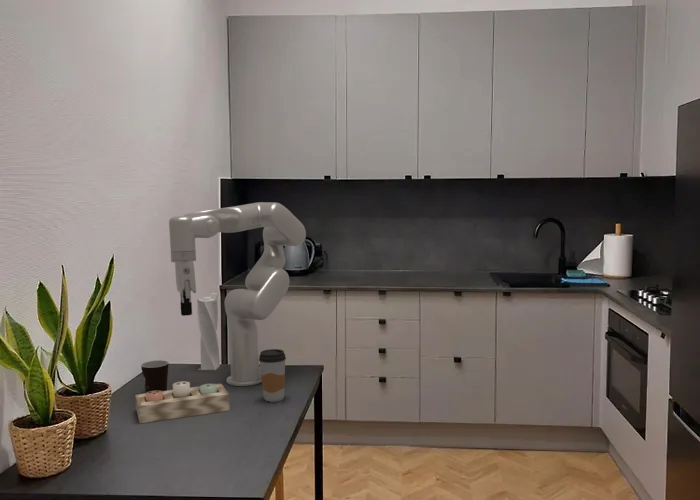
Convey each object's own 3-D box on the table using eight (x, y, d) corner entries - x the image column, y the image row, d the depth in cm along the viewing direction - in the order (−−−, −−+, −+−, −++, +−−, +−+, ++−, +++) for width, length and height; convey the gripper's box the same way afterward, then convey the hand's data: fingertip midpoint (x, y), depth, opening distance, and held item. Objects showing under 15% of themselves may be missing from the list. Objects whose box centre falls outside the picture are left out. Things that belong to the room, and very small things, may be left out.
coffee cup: (289, 394, 234) (287, 348, 233) (284, 403, 226) (282, 355, 224) (263, 394, 235) (261, 348, 234) (258, 403, 227) (255, 355, 225)
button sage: (215, 398, 228) (215, 382, 227) (218, 403, 223) (218, 386, 223) (199, 400, 226) (198, 384, 225) (202, 405, 221) (201, 388, 221)
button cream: (189, 396, 225) (188, 379, 224) (191, 401, 220) (190, 384, 220) (172, 398, 223) (171, 382, 223) (174, 403, 218) (173, 386, 218)
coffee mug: (166, 397, 235) (164, 367, 234) (139, 398, 235) (137, 367, 234) (175, 386, 246) (173, 357, 245) (149, 387, 247) (148, 358, 246)
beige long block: (222, 399, 232) (221, 383, 232) (229, 410, 221) (228, 394, 220) (136, 410, 223) (135, 394, 223) (139, 423, 212) (138, 406, 211)
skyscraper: (225, 365, 272) (221, 291, 269) (218, 372, 264) (215, 294, 261) (202, 365, 273) (198, 291, 270) (196, 372, 265) (191, 295, 262)
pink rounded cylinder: (162, 405, 222) (161, 388, 222) (164, 410, 218) (163, 393, 217) (145, 408, 221) (144, 391, 220) (147, 413, 216) (146, 395, 215)
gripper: (199, 258, 222) (202, 318, 224) (192, 253, 236) (195, 309, 238) (174, 259, 219) (177, 320, 221) (168, 254, 233) (171, 311, 235)
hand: (186, 314), depth 230 cm, fingers closed
